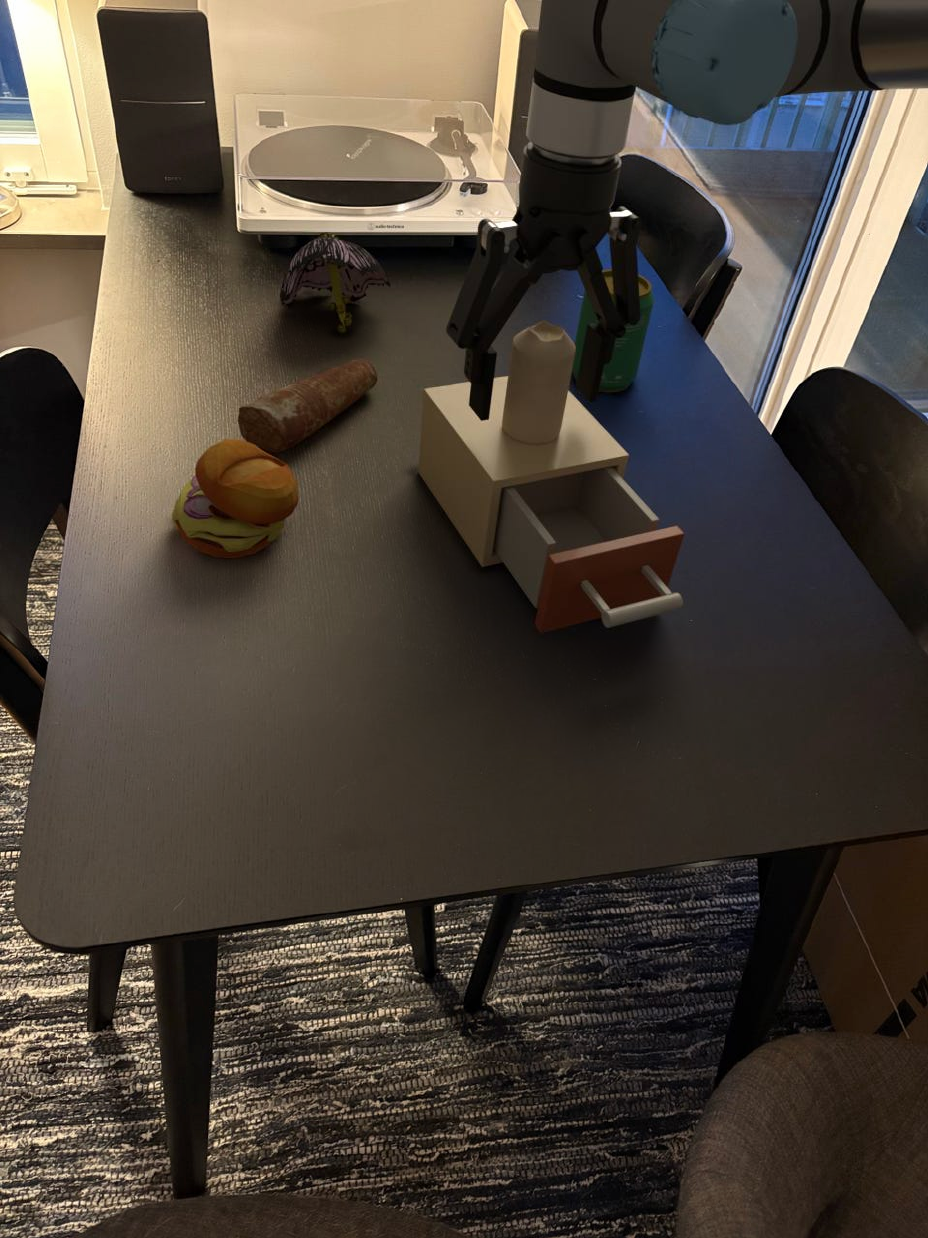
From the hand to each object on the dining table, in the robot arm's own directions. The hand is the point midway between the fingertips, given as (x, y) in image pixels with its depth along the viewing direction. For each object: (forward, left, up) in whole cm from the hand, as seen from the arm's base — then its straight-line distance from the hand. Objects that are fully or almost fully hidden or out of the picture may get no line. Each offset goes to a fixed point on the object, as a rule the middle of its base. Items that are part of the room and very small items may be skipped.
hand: (533, 403), depth 88 cm
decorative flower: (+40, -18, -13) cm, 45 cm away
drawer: (-11, +6, -11) cm, 17 cm away
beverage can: (+7, -30, -13) cm, 33 cm away
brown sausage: (+26, +1, -13) cm, 29 cm away
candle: (0, 0, -3) cm, 3 cm away
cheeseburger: (+18, +20, -13) cm, 30 cm away
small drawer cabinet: (+1, -1, -12) cm, 12 cm away
